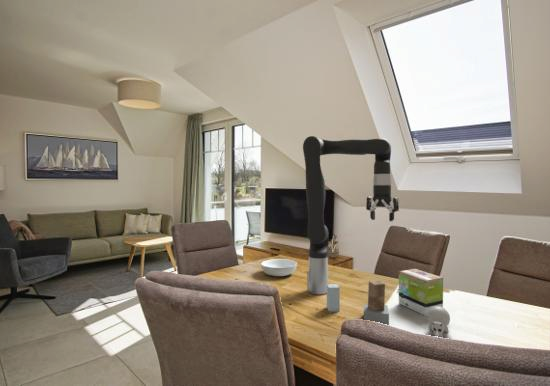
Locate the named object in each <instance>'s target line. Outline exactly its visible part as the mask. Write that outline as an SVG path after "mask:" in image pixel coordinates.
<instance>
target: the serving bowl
mask: <svg viewBox="0 0 550 386" xmlns="http://www.w3.org/2000/svg"><path fill="white" fill-rule="evenodd" d="M260 266H261V270H262V271H263V272H264V273H265V274H266V275H268V276H273V277H277V278H279V277H285V276H289V275H291V274H293V273H294V272H296V269H297V267H298V262H297V261H296V260H293V259H288V258H274V259H267V260H264V261H262V262H261V264H260Z"/></svg>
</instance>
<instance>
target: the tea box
mask: <svg viewBox="0 0 550 386" xmlns="http://www.w3.org/2000/svg"><path fill="white" fill-rule="evenodd" d="M398 289H399V293H398V304H400V305H402V306H404V307H407V308H408V309H411V310H413V311H415V312H417V313H419V314H421V315H422V314H423V315H422V316H424V317H428V316H427V315H428V311H429V310H430V309H431V308H432V307H435V306H439V307H442V308H444V277H442V276H440V275H437V274H433V273H429V272H427V271H423V270H422V269H421V270H420V269H419V268H418V269H417V268H410V269H407V270H406V269H405V270H400V271H398Z"/></svg>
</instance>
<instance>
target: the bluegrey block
mask: <svg viewBox="0 0 550 386" xmlns="http://www.w3.org/2000/svg"><path fill="white" fill-rule="evenodd" d="M340 288H341V287H340V286H339V284H338V283H334V284H333V283H328V284H327V293H326V308H327V310H328V312H340V310H341V309H340V306H341V305H340V304H341V303H340V299H341V298H340V297H341V295H340V294H341V292H340Z"/></svg>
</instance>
